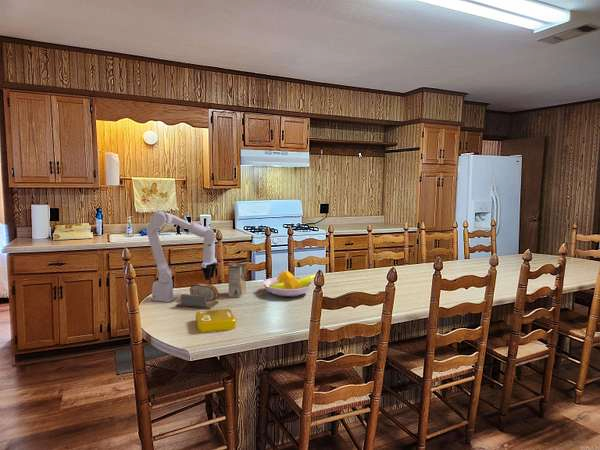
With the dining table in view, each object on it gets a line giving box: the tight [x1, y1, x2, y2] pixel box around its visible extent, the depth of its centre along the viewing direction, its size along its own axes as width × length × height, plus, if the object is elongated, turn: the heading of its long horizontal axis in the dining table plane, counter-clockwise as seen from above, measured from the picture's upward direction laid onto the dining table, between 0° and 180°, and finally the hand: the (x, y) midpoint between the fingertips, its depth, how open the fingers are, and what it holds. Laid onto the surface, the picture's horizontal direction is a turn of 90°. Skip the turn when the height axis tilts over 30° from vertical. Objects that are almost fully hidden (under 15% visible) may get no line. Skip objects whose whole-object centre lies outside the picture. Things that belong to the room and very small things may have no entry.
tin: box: [189, 282, 219, 301], centre depth 198 cm, size 15×3×8 cm, turn 71°
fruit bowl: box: [262, 270, 317, 297], centre depth 213 cm, size 28×27×11 cm
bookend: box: [180, 293, 206, 310], centre depth 187 cm, size 12×1×6 cm, turn 80°
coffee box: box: [228, 262, 247, 299], centre depth 208 cm, size 9×6×16 cm
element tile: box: [195, 308, 236, 333], centre depth 166 cm, size 15×15×5 cm
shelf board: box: [175, 300, 219, 311], centre depth 191 cm, size 17×10×1 cm, turn 80°
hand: (209, 278), depth 204 cm, fingers open, 4 cm apart
